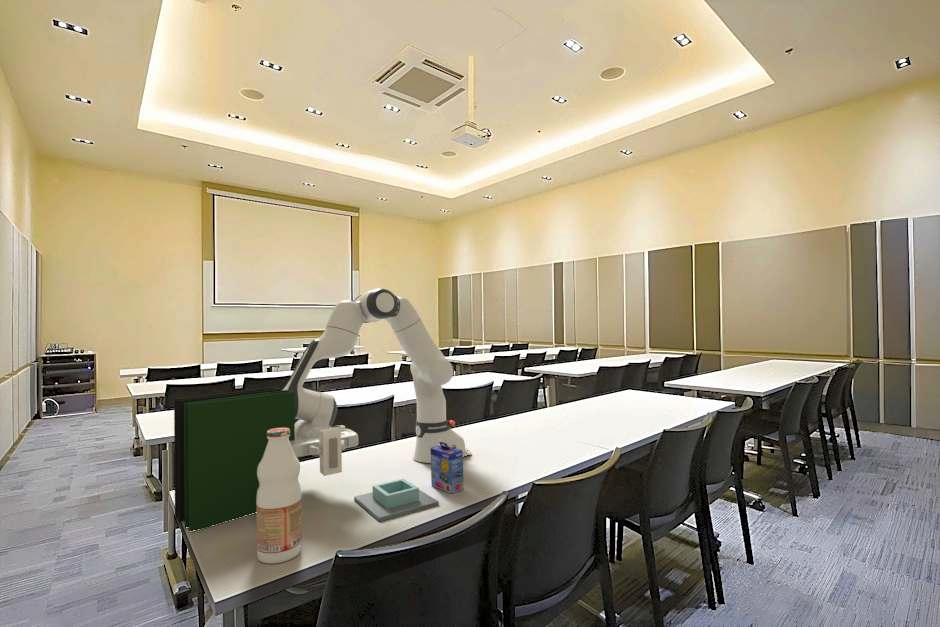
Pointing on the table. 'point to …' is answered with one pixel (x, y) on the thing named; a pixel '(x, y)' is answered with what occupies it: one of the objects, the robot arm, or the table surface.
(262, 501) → the fruit juice
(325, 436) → the keyed plug
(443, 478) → the ink cartridge box
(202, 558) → the table surface
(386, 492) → the socket dock
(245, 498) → the binder
